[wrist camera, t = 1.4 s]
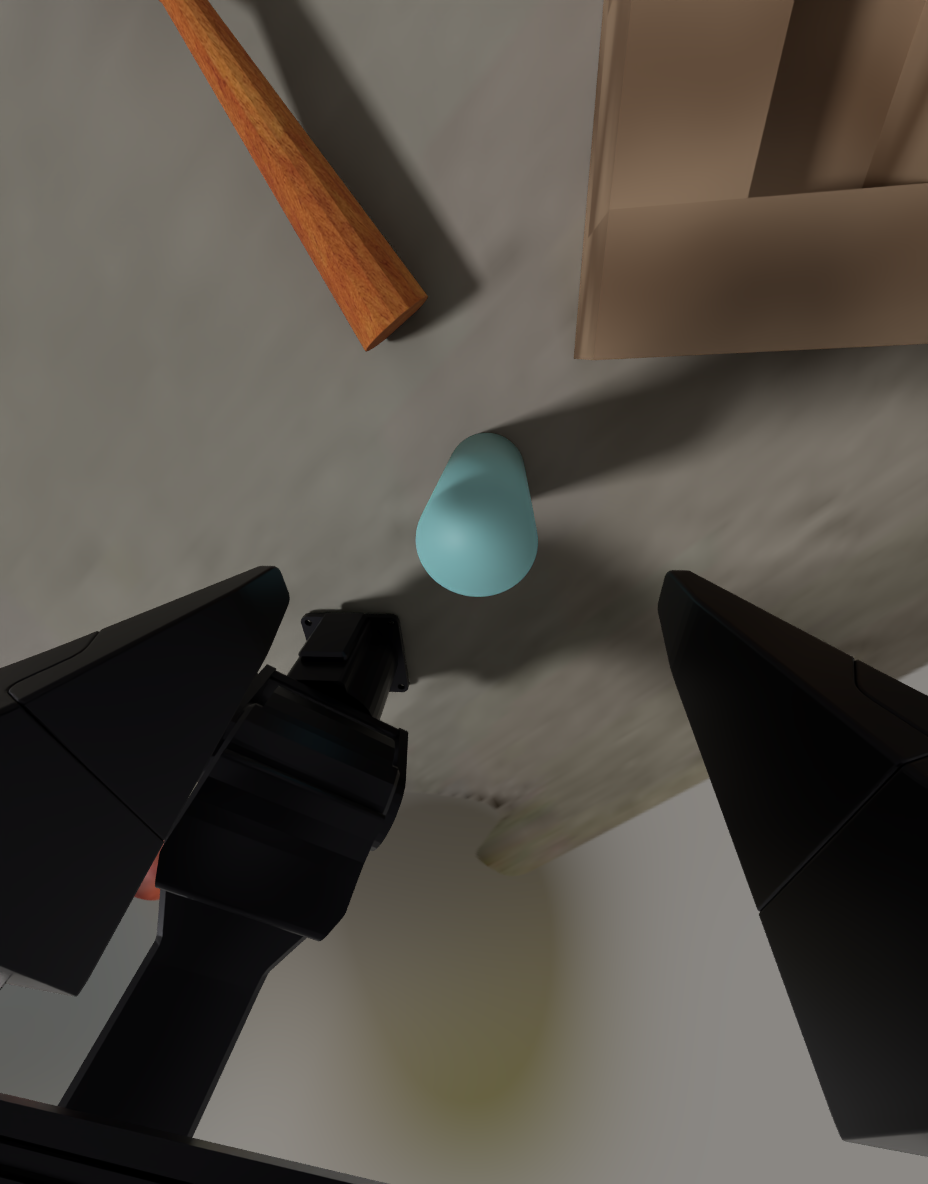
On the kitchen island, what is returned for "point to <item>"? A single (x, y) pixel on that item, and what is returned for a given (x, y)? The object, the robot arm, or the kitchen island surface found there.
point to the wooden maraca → (303, 182)
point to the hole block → (756, 178)
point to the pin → (479, 520)
